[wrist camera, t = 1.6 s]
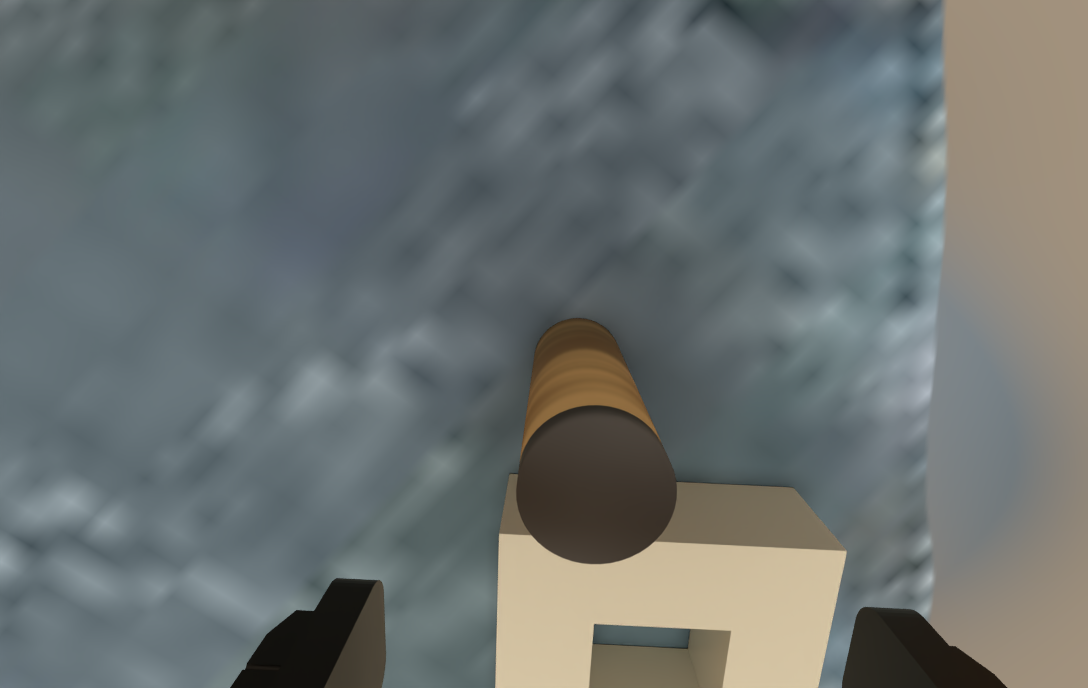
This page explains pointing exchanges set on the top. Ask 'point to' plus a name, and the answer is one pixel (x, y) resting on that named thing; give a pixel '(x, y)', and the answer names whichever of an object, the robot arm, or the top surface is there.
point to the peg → (590, 452)
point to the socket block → (676, 598)
